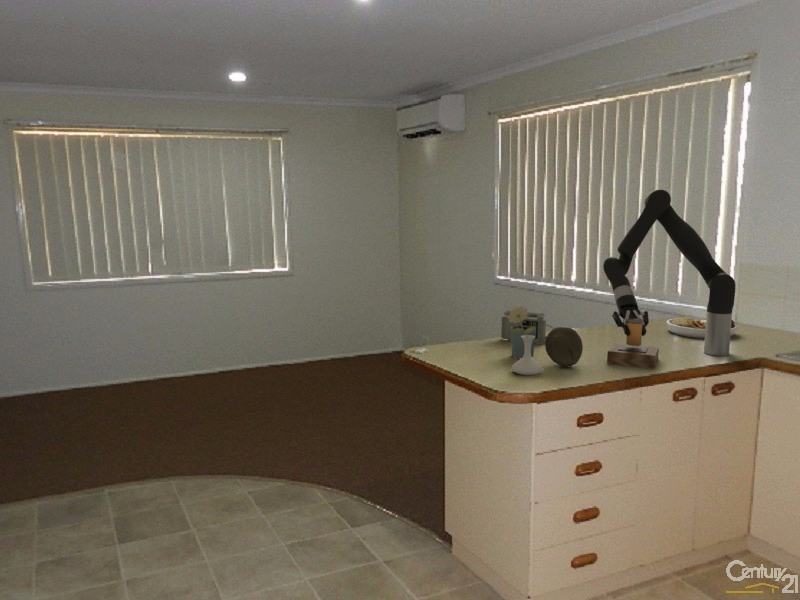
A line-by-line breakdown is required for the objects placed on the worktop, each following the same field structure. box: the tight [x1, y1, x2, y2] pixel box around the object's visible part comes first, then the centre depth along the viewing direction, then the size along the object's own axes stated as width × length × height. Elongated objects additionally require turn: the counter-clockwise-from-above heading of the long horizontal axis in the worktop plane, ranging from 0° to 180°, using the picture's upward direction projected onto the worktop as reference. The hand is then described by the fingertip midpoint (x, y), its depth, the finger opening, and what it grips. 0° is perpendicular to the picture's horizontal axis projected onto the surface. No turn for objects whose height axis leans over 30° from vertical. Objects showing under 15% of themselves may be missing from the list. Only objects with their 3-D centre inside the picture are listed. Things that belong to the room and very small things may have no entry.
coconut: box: [544, 326, 584, 368], centre depth 238 cm, size 14×14×15 cm
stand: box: [606, 342, 660, 370], centre depth 245 cm, size 17×16×5 cm
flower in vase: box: [508, 305, 544, 376], centre depth 226 cm, size 13×11×25 cm
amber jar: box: [625, 317, 643, 346], centre depth 244 cm, size 6×6×10 cm
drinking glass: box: [510, 326, 536, 359], centre depth 253 cm, size 10×10×12 cm
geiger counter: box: [500, 309, 555, 345], centre depth 280 cm, size 14×6×25 cm
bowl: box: [666, 317, 738, 340], centre depth 298 cm, size 30×30×8 cm
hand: (636, 334), depth 242 cm, fingers closed on amber jar, 5 cm apart
